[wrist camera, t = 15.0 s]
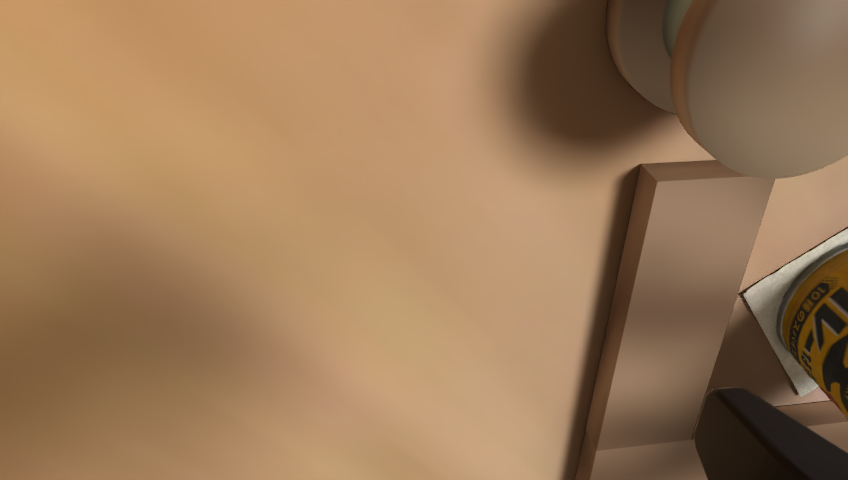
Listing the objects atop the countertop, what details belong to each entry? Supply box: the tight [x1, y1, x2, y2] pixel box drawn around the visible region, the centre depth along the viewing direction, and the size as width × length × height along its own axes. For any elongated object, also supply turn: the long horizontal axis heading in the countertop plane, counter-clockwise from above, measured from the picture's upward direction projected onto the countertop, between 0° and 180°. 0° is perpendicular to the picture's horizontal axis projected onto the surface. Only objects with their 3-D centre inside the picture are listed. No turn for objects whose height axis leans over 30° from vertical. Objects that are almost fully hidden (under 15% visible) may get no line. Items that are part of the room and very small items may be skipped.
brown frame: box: [575, 160, 848, 480], centre depth 28 cm, size 16×20×1 cm
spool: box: [606, 0, 848, 179], centre depth 18 cm, size 6×6×5 cm
